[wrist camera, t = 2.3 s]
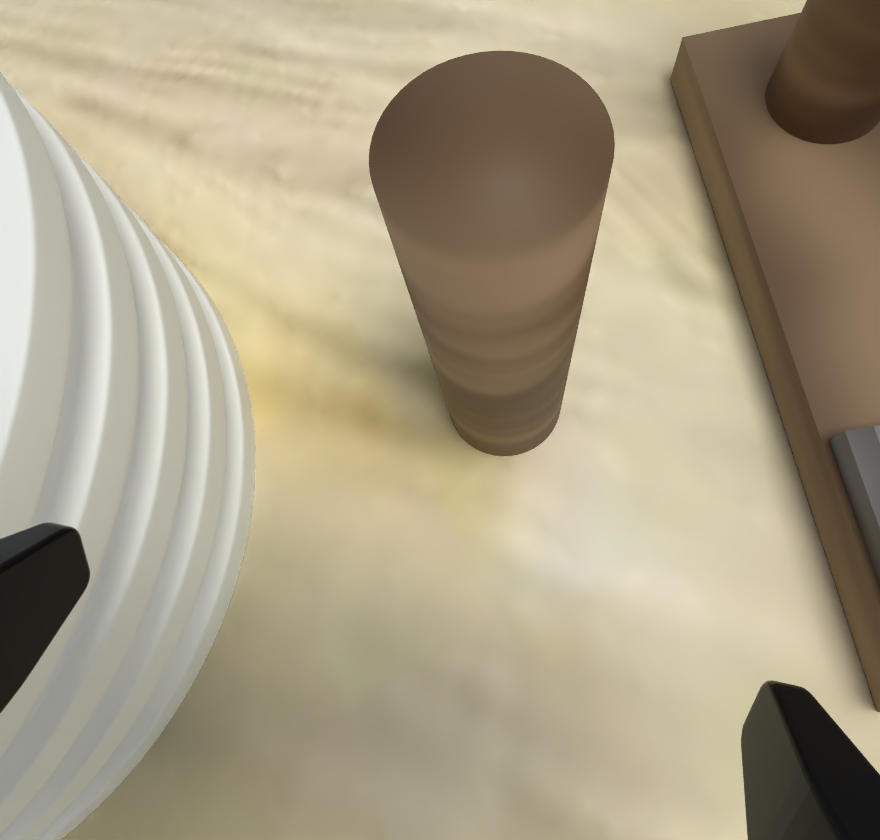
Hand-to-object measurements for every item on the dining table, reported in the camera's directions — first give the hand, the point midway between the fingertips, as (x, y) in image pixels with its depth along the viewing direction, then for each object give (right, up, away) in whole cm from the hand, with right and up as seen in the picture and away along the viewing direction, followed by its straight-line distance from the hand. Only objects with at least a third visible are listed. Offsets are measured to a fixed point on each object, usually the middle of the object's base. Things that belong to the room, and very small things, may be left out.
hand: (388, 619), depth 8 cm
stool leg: (+3, +3, +15) cm, 15 cm away
